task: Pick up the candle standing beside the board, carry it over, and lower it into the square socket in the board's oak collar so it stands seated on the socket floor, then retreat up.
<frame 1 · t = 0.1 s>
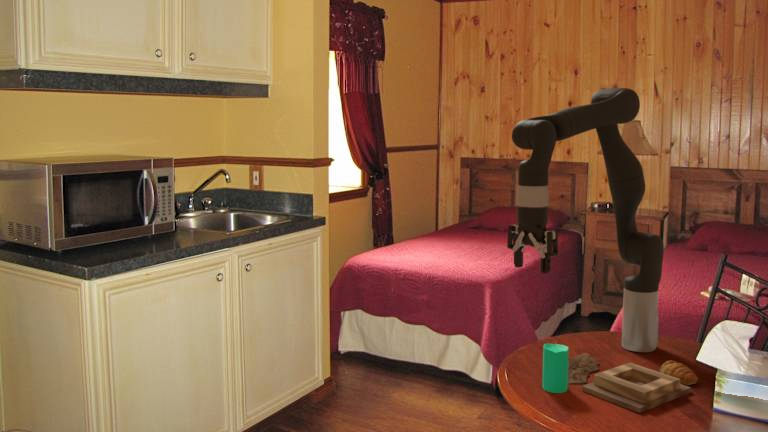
hand: (531, 270, 168), 29 cm above the table, fingers open, 8 cm apart
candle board: (636, 391, 167), on the table
wooden fragment: (575, 369, 183), on the table
candle: (554, 389, 170), on the table
pastry: (678, 379, 175), on the table
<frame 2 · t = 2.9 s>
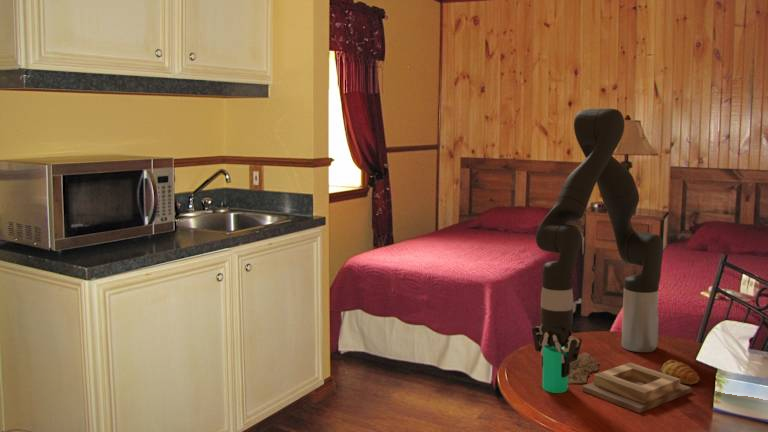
hand: (555, 372, 169), 4 cm above the table, fingers closed on candle, 4 cm apart
candle: (554, 388, 170), on the table, touching gripper
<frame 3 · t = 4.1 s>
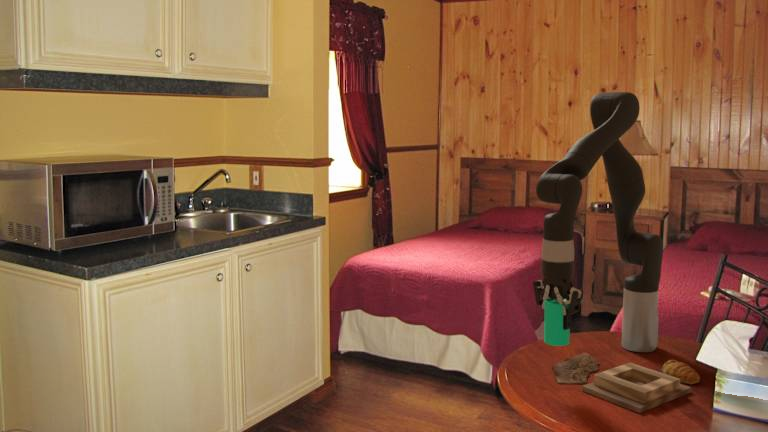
hand: (556, 326, 167), 16 cm above the table, fingers closed on candle, 4 cm apart
candle: (556, 342, 168), point 12 cm above the table, touching gripper
everything else where it was.
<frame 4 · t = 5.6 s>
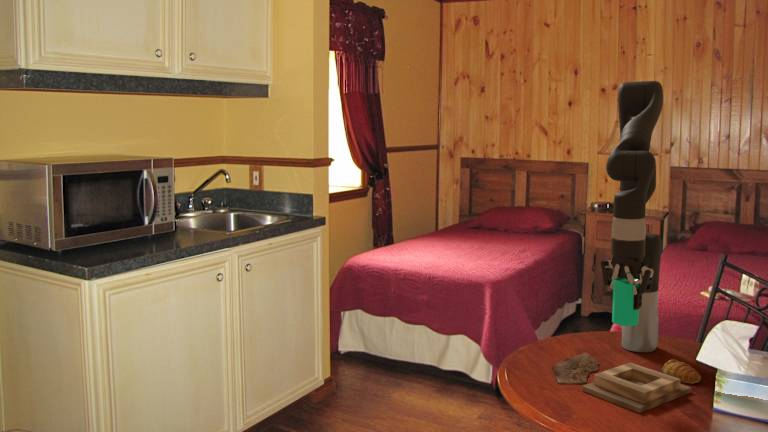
hand: (625, 306, 165), 21 cm above the table, fingers closed on candle, 4 cm apart
candle: (625, 323, 165), point 17 cm above the table, touching gripper
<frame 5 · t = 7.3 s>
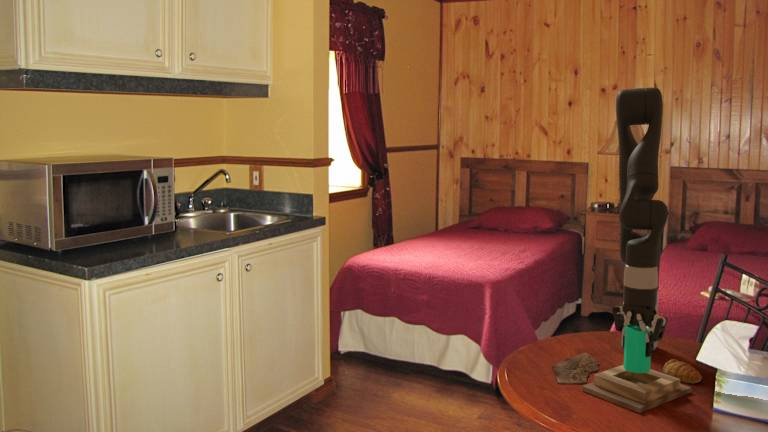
hand: (637, 353, 166), 10 cm above the table, fingers closed on candle, 4 cm apart
candle: (636, 369, 166), point 6 cm above the table, touching gripper
when the fingers open (6 cm above the table, at t = 8.5 s): candle stays where it is, resting on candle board.
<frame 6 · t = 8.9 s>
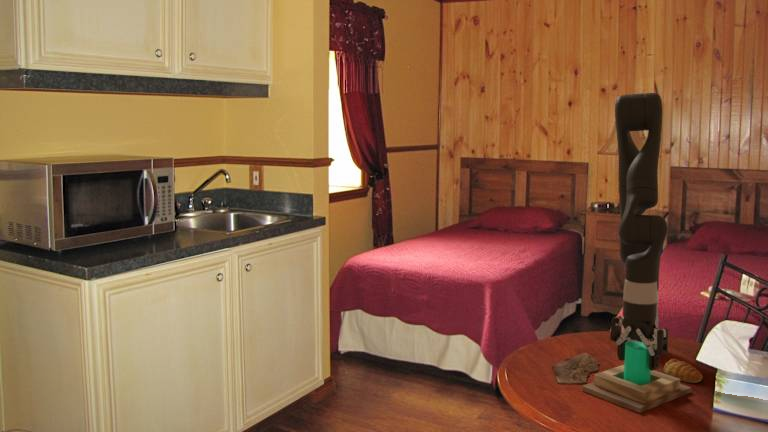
hand: (637, 364, 166), 7 cm above the table, fingers open, 8 cm apart
candle: (636, 387, 167), point 1 cm above the table, touching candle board
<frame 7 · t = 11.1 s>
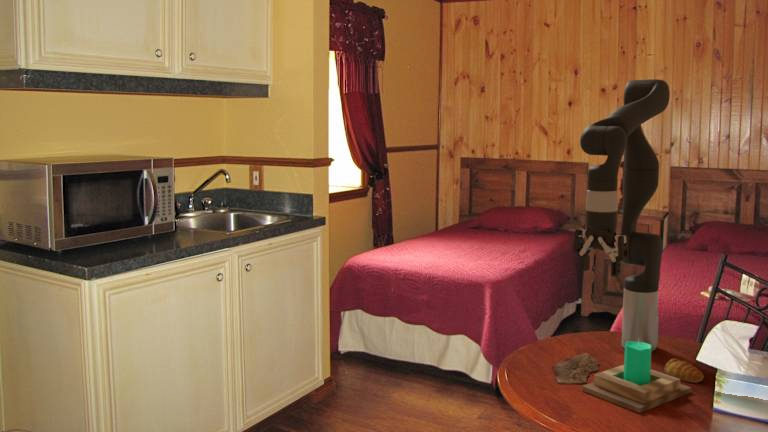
hand: (599, 273, 171), 27 cm above the table, fingers open, 8 cm apart
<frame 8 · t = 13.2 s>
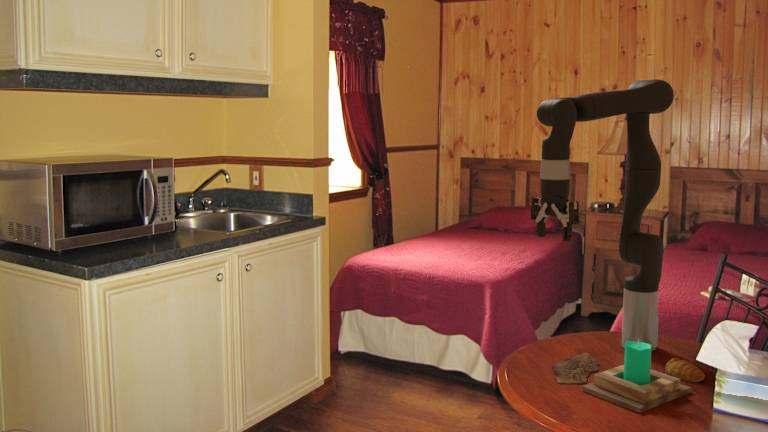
hand: (553, 238, 181), 34 cm above the table, fingers open, 8 cm apart
at the end: candle 0.0 cm off-centre on the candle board, point 1.0 cm above the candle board's base; candle tilted 0°; the gripper is holding nothing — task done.
